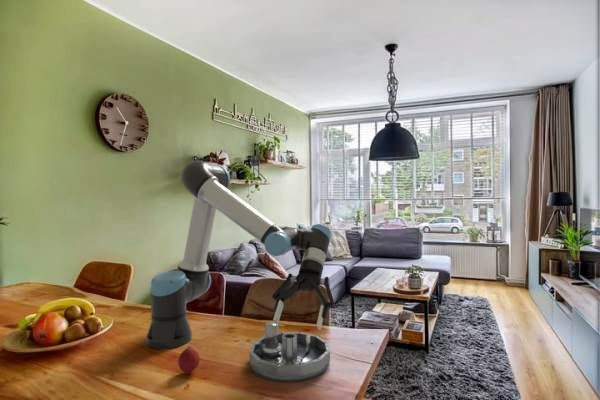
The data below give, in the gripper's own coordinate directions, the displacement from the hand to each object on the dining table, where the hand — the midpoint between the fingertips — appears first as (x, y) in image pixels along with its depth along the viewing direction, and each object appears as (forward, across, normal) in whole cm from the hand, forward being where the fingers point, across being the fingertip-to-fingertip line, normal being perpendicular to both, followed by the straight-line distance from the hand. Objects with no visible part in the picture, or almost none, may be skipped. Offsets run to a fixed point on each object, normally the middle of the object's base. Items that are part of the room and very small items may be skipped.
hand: (296, 325), depth 106 cm
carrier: (+7, +3, -10) cm, 13 cm away
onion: (+19, +28, 0) cm, 34 cm away
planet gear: (+10, +1, -5) cm, 12 cm away
